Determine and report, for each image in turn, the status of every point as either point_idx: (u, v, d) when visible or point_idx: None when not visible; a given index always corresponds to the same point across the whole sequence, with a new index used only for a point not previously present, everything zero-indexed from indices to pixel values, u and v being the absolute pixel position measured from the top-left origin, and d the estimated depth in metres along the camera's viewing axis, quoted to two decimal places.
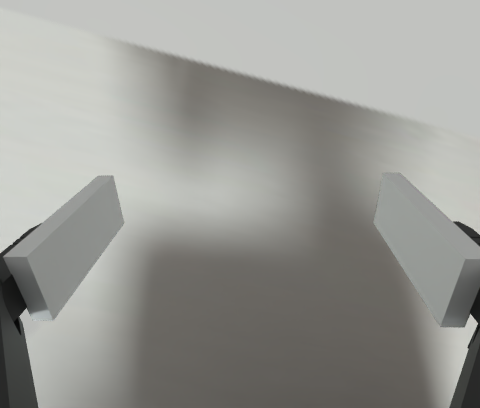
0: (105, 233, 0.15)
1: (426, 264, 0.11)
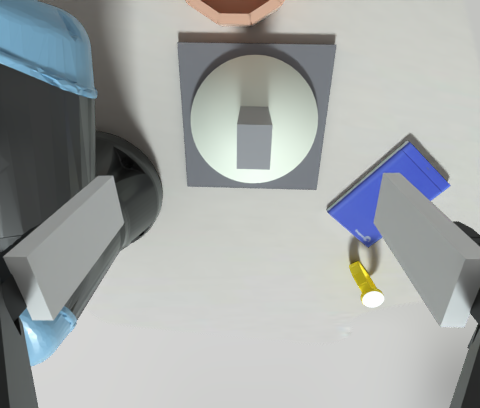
0: (105, 233, 0.15)
1: (426, 264, 0.11)
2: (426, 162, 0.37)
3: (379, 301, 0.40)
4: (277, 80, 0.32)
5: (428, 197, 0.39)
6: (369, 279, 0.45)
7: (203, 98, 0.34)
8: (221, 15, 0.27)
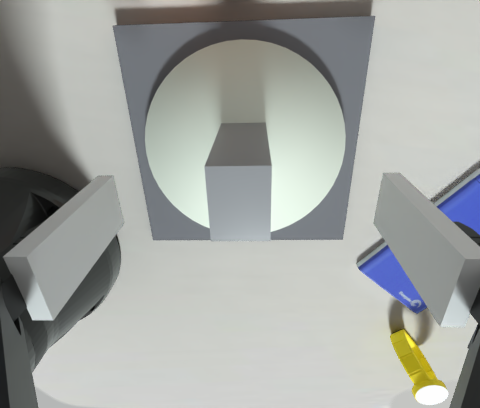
0: (105, 233, 0.15)
1: (426, 264, 0.11)
2: None
3: (441, 397, 0.27)
4: (278, 80, 0.20)
5: None
6: (418, 352, 0.32)
7: (162, 113, 0.21)
8: None
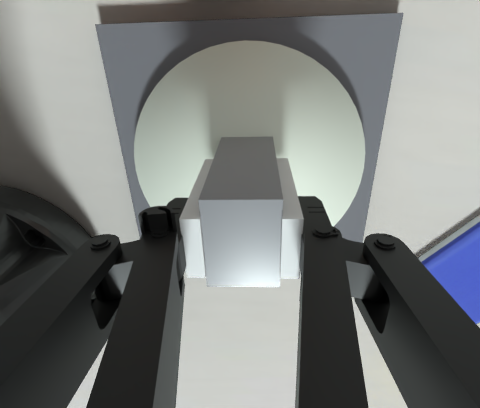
0: None
1: None
2: None
3: None
4: (288, 88, 0.17)
5: None
6: None
7: (153, 125, 0.18)
8: None
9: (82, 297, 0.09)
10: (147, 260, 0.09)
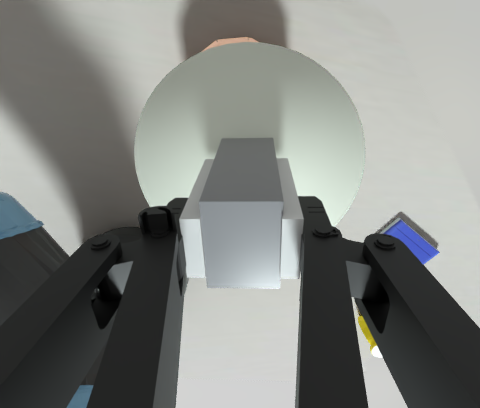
0: None
1: None
2: (416, 235, 0.42)
3: None
4: (288, 89, 0.17)
5: None
6: None
7: (154, 126, 0.18)
8: None
9: (82, 297, 0.09)
10: (147, 260, 0.09)
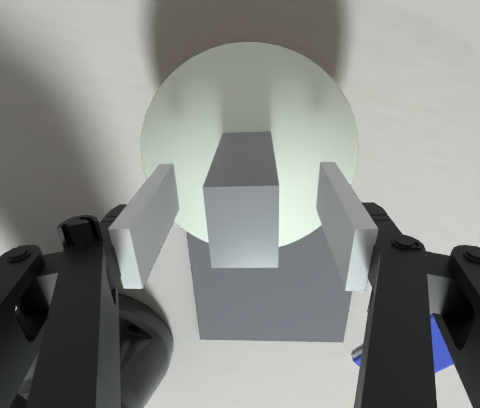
0: (169, 216, 0.16)
1: (339, 238, 0.12)
2: None
3: None
4: (284, 85, 0.18)
5: None
6: None
7: (159, 123, 0.20)
8: None
9: (4, 310, 0.08)
10: (73, 272, 0.09)
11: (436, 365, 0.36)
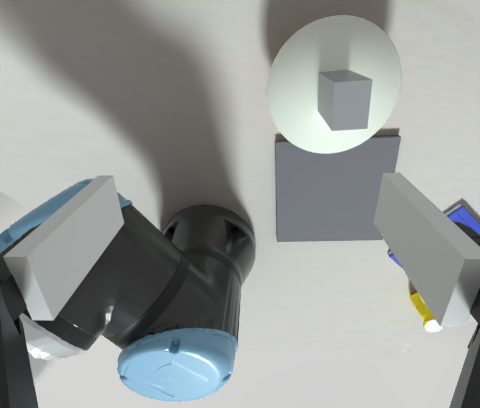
0: (105, 233, 0.15)
1: (426, 264, 0.11)
2: (475, 221, 0.45)
3: (439, 327, 0.49)
4: (358, 40, 0.31)
5: None
6: None
7: (280, 67, 0.33)
8: None
9: None
10: None
11: None
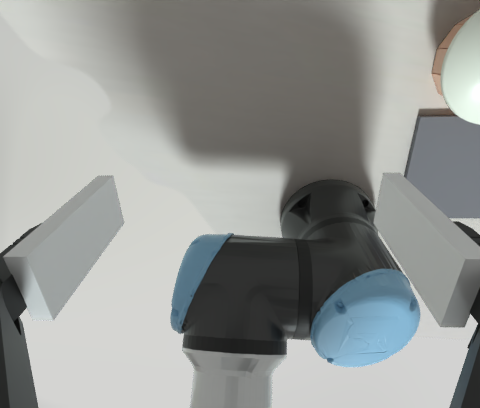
0: (105, 233, 0.15)
1: (426, 264, 0.11)
2: None
3: None
4: None
5: None
6: None
7: (467, 37, 0.34)
8: None
9: None
10: None
11: None
